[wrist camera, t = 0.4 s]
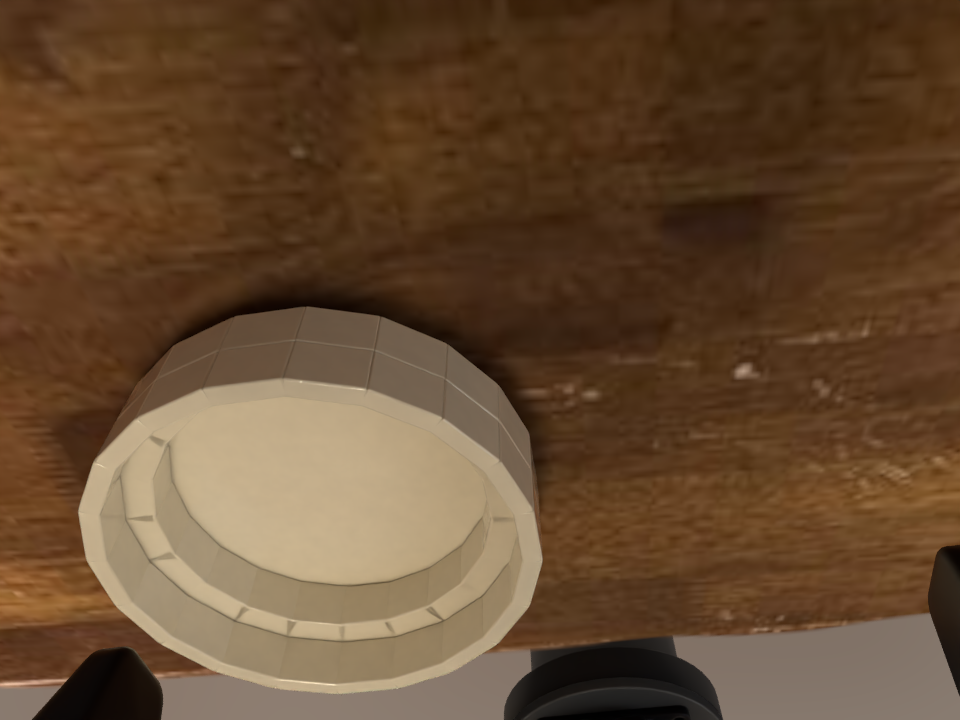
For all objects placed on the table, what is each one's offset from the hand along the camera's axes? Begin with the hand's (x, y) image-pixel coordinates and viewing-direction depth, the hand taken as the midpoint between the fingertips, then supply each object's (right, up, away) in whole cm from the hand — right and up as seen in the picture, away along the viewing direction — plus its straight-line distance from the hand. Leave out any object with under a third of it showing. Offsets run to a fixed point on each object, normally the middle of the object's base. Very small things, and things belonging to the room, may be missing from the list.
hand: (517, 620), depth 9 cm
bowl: (-5, -1, +18) cm, 19 cm away
